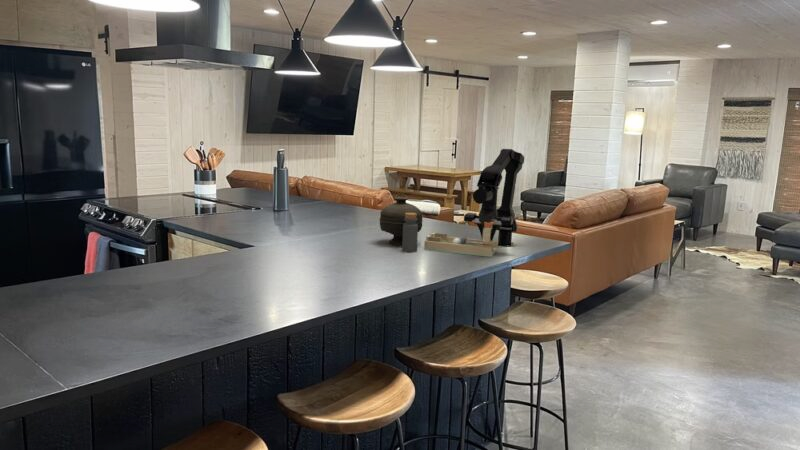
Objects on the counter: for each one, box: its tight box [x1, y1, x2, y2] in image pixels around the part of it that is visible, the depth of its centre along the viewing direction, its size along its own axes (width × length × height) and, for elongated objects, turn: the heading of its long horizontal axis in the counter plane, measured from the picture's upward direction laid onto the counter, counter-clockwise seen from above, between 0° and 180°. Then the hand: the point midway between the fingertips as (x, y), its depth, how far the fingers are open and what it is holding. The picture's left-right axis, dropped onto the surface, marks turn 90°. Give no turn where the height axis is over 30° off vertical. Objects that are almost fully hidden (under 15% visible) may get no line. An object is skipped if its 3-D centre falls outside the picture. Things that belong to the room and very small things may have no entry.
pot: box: [379, 196, 423, 247], centre depth 242 cm, size 18×18×20 cm
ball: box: [452, 237, 461, 244], centre depth 236 cm, size 4×4×4 cm
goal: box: [425, 232, 448, 243], centre depth 238 cm, size 10×6×4 cm, turn 160°
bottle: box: [401, 213, 419, 253], centre depth 229 cm, size 6×6×15 cm
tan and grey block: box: [460, 227, 493, 246], centre depth 232 cm, size 5×12×8 cm, turn 70°
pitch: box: [423, 236, 499, 258], centre depth 235 cm, size 14×27×4 cm, turn 70°
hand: (487, 240), depth 231 cm, fingers closed on tan and grey block, 3 cm apart
